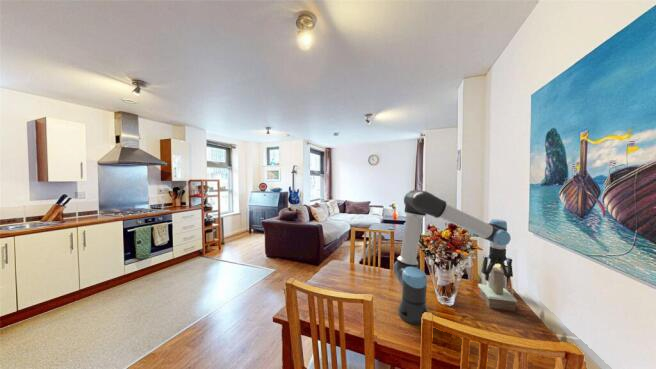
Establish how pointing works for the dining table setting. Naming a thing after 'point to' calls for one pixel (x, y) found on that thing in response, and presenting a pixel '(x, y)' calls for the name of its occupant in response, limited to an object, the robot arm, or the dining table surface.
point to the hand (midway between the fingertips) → (496, 287)
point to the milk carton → (509, 285)
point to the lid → (497, 287)
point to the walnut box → (497, 302)
